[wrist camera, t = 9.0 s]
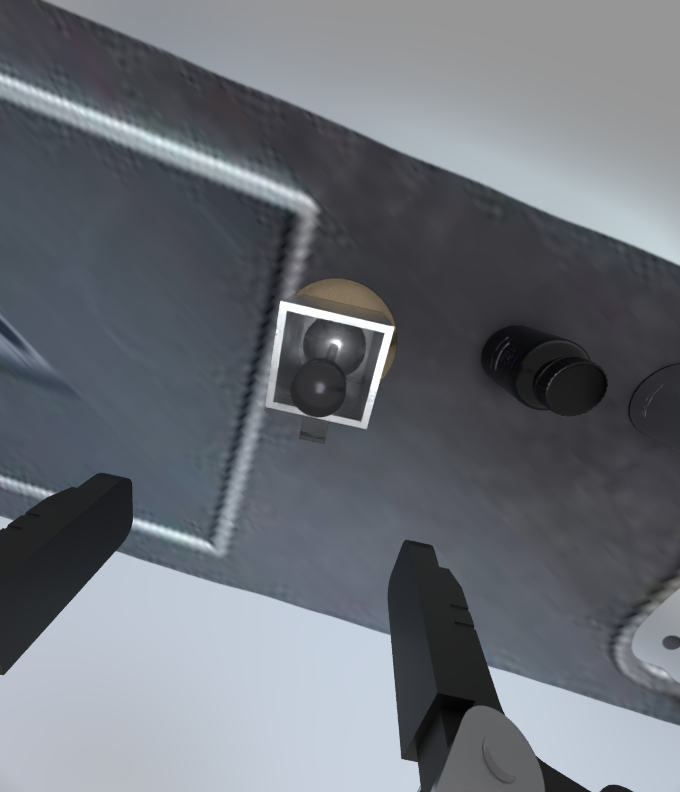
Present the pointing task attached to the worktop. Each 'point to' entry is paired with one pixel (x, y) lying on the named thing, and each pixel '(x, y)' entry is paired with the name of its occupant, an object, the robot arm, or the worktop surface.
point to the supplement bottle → (544, 371)
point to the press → (342, 306)
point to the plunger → (326, 366)
